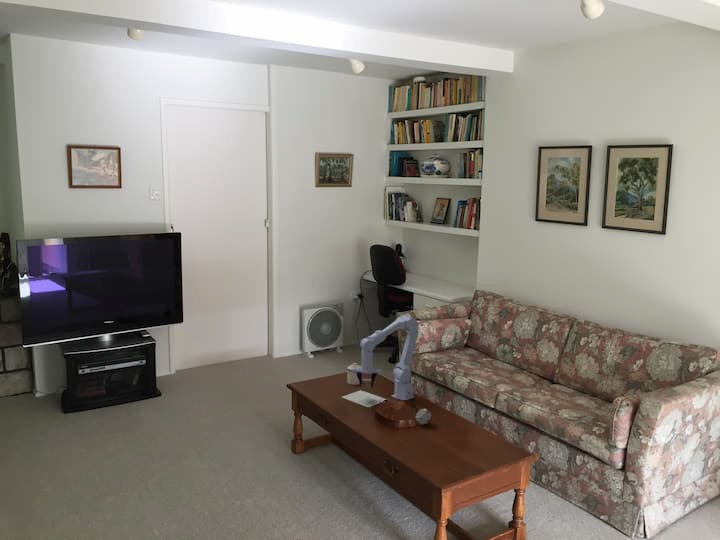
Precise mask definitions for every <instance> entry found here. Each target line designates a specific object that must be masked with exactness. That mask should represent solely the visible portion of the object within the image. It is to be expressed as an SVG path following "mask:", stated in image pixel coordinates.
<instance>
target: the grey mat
mask: <svg viewBox="0 0 720 540" xmlns="http://www.w3.org/2000/svg"><path fill="white" fill-rule="evenodd" d="M342 398H343V399H345V400H347V401H349V402H353V403H355V404H358V405H362V406H363V407H366V408H371V407H373V406H376V405H378V404H381V403H383V401H384V400H386V398H385V397H384V398H383V397H381V396H379V395H376V394H373V393H370V392H368V391H361V389H360V390H358V391H354V392H352V393H349V394H346V395H343V396H341V399H342ZM380 402H381V403H380ZM384 402H385V401H384Z"/></svg>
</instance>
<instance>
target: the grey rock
mask: <svg viewBox="0 0 720 540" xmlns="http://www.w3.org/2000/svg"><path fill="white" fill-rule="evenodd" d="M432 416H434V414H432V413H431V412H430V411H429V410H428V408H427V406H425V408H424V407H423V408H421V409H419V408H417V412H416V414H415V417H413V418H412V419H414V420H416V421H417V422H418V424H419V425H420V427H422V426H423V425H427V424H428V425H430V423H431V420H432V419H431V418H432Z"/></svg>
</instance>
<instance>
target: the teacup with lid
mask: <svg viewBox="0 0 720 540" xmlns="http://www.w3.org/2000/svg"><path fill="white" fill-rule="evenodd" d="M357 368H361V365H359V364H358V363H357V362H353V364H350V365H348V366H347V368H346V371H347V373H346V374H347V375H346V377H347V379H346V382H347V384H350V385H353V386H354V385H355V386H356V385H360V382H359V379H358V377H357V373H353V369H357ZM363 374H364V373H362V378H364V377H363Z"/></svg>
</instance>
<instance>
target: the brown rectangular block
mask: <svg viewBox="0 0 720 540" xmlns="http://www.w3.org/2000/svg"><path fill="white" fill-rule="evenodd" d="M371 383H372V378H362V383H361V387H360V390H361V391H365V392H371V391H372V388H371Z"/></svg>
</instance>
